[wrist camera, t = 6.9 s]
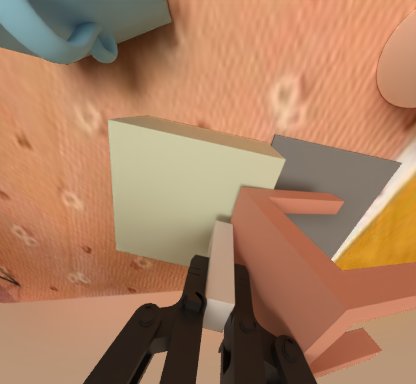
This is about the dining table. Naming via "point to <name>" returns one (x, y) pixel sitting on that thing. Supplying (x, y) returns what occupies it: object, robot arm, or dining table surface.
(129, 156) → the step block
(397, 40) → the cup
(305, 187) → the mat
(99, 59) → the teapot
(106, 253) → the dining table surface
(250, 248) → the stool
